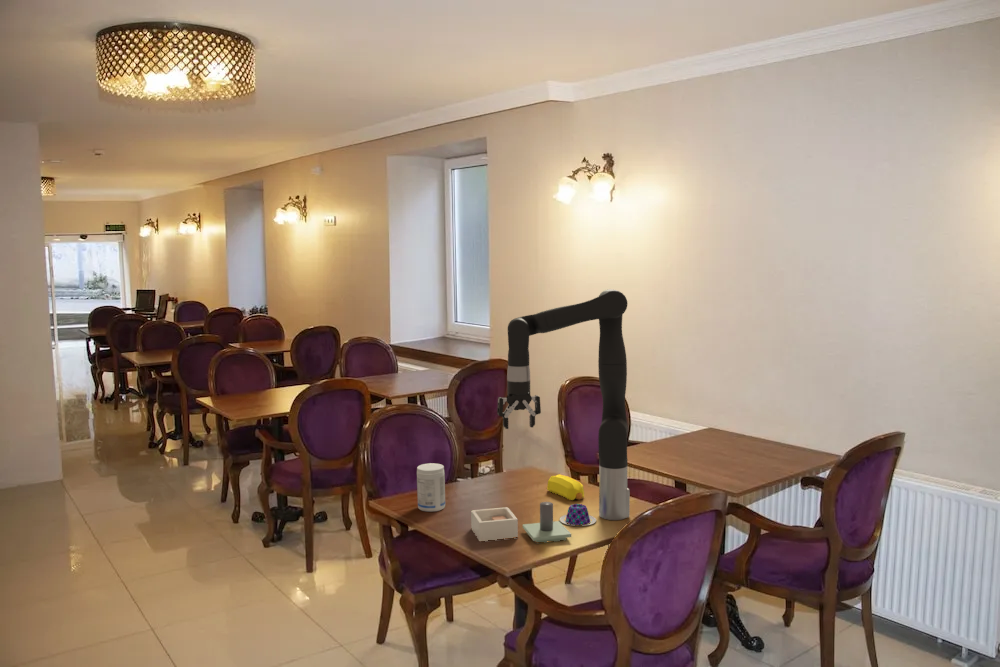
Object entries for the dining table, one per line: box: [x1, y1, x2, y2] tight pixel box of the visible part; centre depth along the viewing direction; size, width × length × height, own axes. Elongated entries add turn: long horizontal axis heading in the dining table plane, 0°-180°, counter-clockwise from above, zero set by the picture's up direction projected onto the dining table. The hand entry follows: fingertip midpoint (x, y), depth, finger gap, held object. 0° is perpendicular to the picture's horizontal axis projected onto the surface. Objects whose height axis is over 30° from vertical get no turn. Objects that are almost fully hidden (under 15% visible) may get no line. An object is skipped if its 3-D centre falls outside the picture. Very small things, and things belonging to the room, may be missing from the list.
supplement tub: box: [416, 462, 446, 513], centre depth 265 cm, size 10×10×15 cm
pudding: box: [559, 503, 597, 527], centre depth 251 cm, size 12×12×5 cm
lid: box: [522, 501, 572, 543], centre depth 237 cm, size 12×12×10 cm
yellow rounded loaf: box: [546, 473, 585, 501], centre depth 278 cm, size 18×7×8 cm
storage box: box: [470, 506, 519, 542], centre depth 240 cm, size 12×12×6 cm
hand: (519, 427), depth 253 cm, fingers open, 8 cm apart
